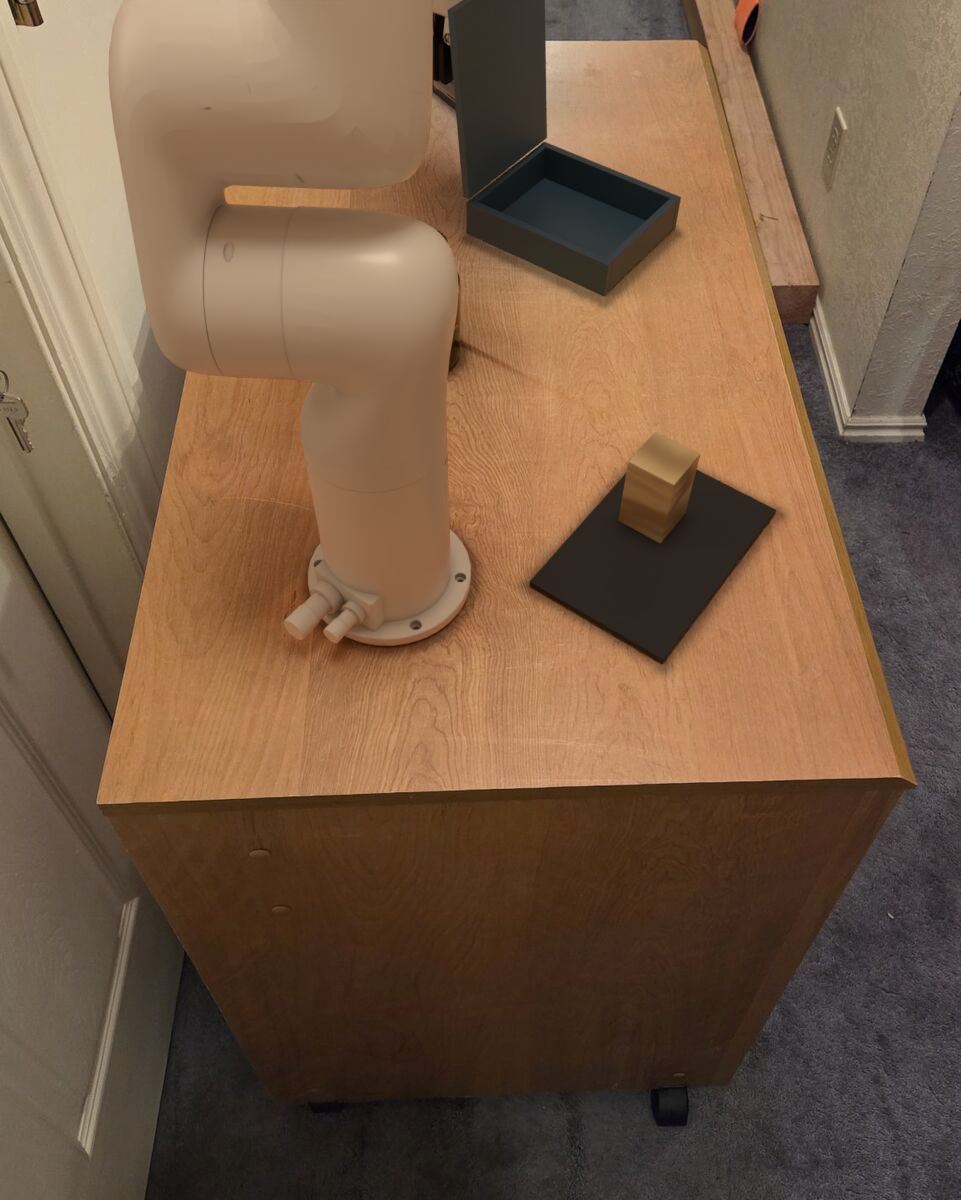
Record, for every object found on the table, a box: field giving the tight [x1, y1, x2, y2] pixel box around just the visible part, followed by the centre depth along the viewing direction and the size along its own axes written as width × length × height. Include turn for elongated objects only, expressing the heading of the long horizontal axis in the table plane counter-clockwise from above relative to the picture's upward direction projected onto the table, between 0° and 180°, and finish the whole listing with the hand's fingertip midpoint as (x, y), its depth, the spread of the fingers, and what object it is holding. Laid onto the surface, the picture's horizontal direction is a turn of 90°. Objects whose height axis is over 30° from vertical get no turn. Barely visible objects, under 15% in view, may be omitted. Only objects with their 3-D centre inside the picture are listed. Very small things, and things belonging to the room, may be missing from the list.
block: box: [618, 431, 701, 543], centre depth 81 cm, size 4×4×7 cm
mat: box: [529, 468, 777, 664], centre depth 83 cm, size 18×12×1 cm, turn 144°
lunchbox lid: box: [447, 0, 548, 200], centre depth 99 cm, size 17×14×1 cm
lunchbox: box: [465, 141, 682, 297], centre depth 105 cm, size 17×14×4 cm
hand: (448, 76), depth 103 cm, fingers closed
